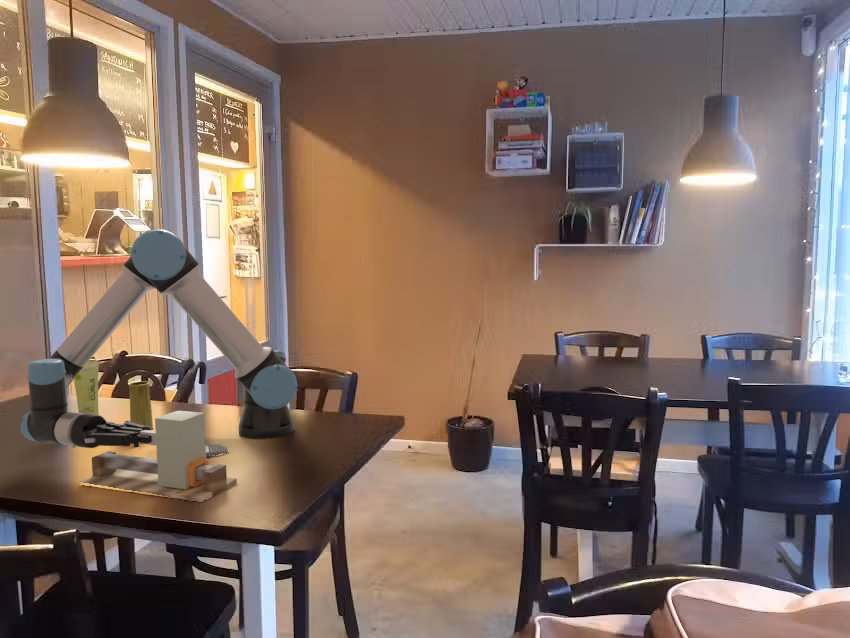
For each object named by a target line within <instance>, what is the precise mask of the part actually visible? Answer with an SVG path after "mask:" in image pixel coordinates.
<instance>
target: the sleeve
mask: <svg viewBox="0 0 850 638" xmlns="http://www.w3.org/2000/svg"><path fill="white" fill-rule="evenodd" d="M154 422H155V423H154V425H155V427H154V428H155V431H156V445H155V446H156V459H157V465H158V484H159V486H165V487H172V488H180V489H187V488H189V487H196V486H198V485H200V484H202V483H204V480H198V479H196V469H195V467H197V466H199V465H201V464H202V465H209V459H208V458H206V430H205V429H206V427H205V426H206V425H205V413H204V412H198V411H185V410H175V411H173V412H169V413H167V414H164V415H161V416H158V417H155V418H154Z"/></svg>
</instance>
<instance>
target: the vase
mask: <svg viewBox="0 0 850 638" xmlns="http://www.w3.org/2000/svg"><path fill="white" fill-rule="evenodd" d="M128 386H129V417H130V418H129V419H130V420H129V421H131V422H132V423H136V424H140V425H144V426H149V427H150V428H151V431H152V430H154V425H153V413H152V412H153V411H152V403H151V393H150V392H151V391H150V388H151V387H150V382H149V381H146V380H145V381H133V382H131V383H130V382H129V384H128Z"/></svg>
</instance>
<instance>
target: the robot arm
mask: <svg viewBox="0 0 850 638" xmlns="http://www.w3.org/2000/svg"><path fill="white" fill-rule="evenodd" d="M200 267H201V264H200V263H199V262H198V260H197V259H196V258H195V257H194V256H193V254H192V253H191V252H190V251H189V250H188V248H186V246H185V245H184V243H183V241H182V240H181V239H180V237H178V236H177V235H176V234H175V233H173V232H171V231H170V230H167V229H162V228H153V229H150V230H149V229H148V230H146V231H144V232H143V233H141V234H139V236H138V237H136V239H135V240H134V241H133V244H132V246H131V251H130V256H129V258H128V259H127V260H126V261H125V263H124V264H123V265H122V268H123V269H122V273H121V274H120V275H119V276H118V278H116V280H114V282H113V283H112V284H111V285H110V287H109V288H108V289H107V291H105V293H104V294H103V295H102V296H101V297H100V298H99V300H98V301H97V302H96V303H94V305H93V306H92V308H91V309H90V310H89V311H88V312H87V313H86V315H85V316H84V317H83V319H81V321H80V322H79V323H78V324H77V325H76V327H74V329H73V330H72V331H71V333H69V335H68V336H67V337H66V338H65V340H64V341H62V343H61V344H60V345H59V346H58V348H56V350H55V351H54V352H53V353H52V355H51V356H50V357H48V358H41V359H36V360H31V361H30V362H29V363H28V365H27V378H26V379H27V380H28V392H29V402H30V406H29V407H30V410H29V411H27V412H26V413H25V414H24V415H23V417H22V421H21V423H20V431H21V433H22V435H23V436H24V438H25V439H27V440H29V441H33V442H37V443H40V444H51V445H52V444H53V445H61V446H62V445H63V446H71V448H74V449H75V448H76V447H79V448H85V449H94V448H97V447H101V446H103V447H106V446H107V447H130V446H131V445H133V447H134V448H140V445H141V444H142V445H149V446H156V430H154V431H151V428H150V427H149V426H144V425H140V424H136V423H132V422H131V421H130V420H125V421H124V422H123V423H122V424H121V423H115V422H112V421H107V420H106V419H105V417H103V416H102V415H100V414H99V415H93V414H85V413H79V412H75V411H74V412H72V411H69V410H68V395H67V390H68V389H67V388H68V387H69V385H70V384H71V383H72V382H74V378H75V377H76V376H77V374H78V373H79V372H80V371H81V370H82V368H83V367H84V366H85V365H86V364H87V362H88V361H91V359H93V356H94V355H95V354H96V353H97V352H98V351H99V349H100V348H101V347H102V346H103V345H104V344H105V343H106V341H107V340H108V339H109V338H110V336H111V335H113V333H114V332H115V330H116V329H117V328H118V327H119V326H120V325H121V324H122V322H123V321H124V320H125V319H126V318H127V316H128V315H129V314H130V313H131V312H132V311H133V310H134V308H135V307H136V306H137V305H138V304H139V302H140V301H141V300H142V299H143V298H144V297H145V295H147V293H148V292H149V291H152V290H155V289H156V291H158V292H159V294H161V295H164V296H165V295H167V296H169V297H170V296H171V297H172V298H173V300H174V301H175V302H176V303H177V304H178V305H179V307H180V308H181V309H182V310H183V311H184V313H186V314H187V316H188V317H189V318H190V319H191V320H192V321H193V322H194V324H196V325H197V327H198V328H199V330H201V331H202V333H203V334H205V336H206V337H207V338H208V339H209V340H210V341H211V342H212V344H213V345H214V346H215V347H216V348H217V349H218V351H219V352H221V354H222V355H223V357H225V358H226V360H228V362H229V363H230V364H231V365H232V366H233V368H234V370H235V371H234V378H235V379H236V380H237V381H238V382H239V384H240V385H242V387H243V404H244V405H243V409H242V413H241V417H240V420H239V423H238V434H239V436H240V437H243V438H246V439H251V440H252V439H254V440H255V439H256V440H263V439H264V440H265V439H274V438H280V437H283V436H287V435H290V434H291V433H293V432H294V430H295V429H294V428H295V427H294V419H293V416H292V413H291V411H290V409H289V406H288V404H290V403H291V402H292V400H293V399H294V398H295V395H296V393H297V390H298V382H297V376H296V374H295V373H294V371H293V369H291V368H290V367H288V365H286V361H287V359H286V353H285V352H284V350H273V349H272V347H271V346H263V345H262V344H260V342H259V341H258V340H257V339H256V337H255V336H254V335H253V334H252V333H251V332H250V330H248V329H247V327H246V326H245V325H244V324H243V322H242V321H241V320H240V318H238V317H237V315H236V314H235V313H234V312H233V311H232V310H231V309H230V307H229V306H228V305H227V304H226V303H225V302H224V300H223V299H222V298H221V297H220V296H219V295H218V293H217V292H216V291H215V290H214V289H213V288H212V286H211V285H210V284H209V283H208V281H206V279H204V277H203V276H202V275H201V273H200V270H201V269H200Z"/></svg>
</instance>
